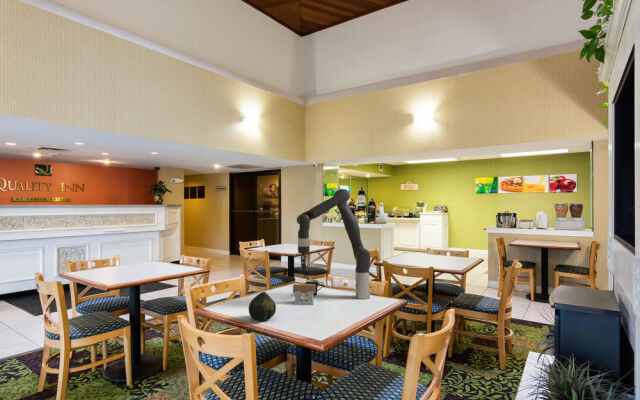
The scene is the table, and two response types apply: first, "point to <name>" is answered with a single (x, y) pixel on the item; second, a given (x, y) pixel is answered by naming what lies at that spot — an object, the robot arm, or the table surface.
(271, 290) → the table surface
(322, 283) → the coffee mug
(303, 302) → the display stand
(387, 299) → the table surface
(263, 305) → the squash
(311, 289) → the glasses bar
